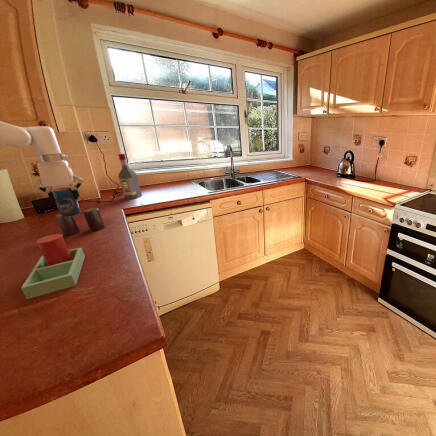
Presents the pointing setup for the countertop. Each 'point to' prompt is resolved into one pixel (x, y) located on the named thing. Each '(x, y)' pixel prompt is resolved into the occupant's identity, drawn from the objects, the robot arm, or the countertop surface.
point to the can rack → (53, 275)
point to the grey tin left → (68, 225)
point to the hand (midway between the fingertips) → (66, 199)
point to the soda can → (66, 202)
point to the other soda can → (54, 249)
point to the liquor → (128, 180)
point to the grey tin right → (93, 219)
